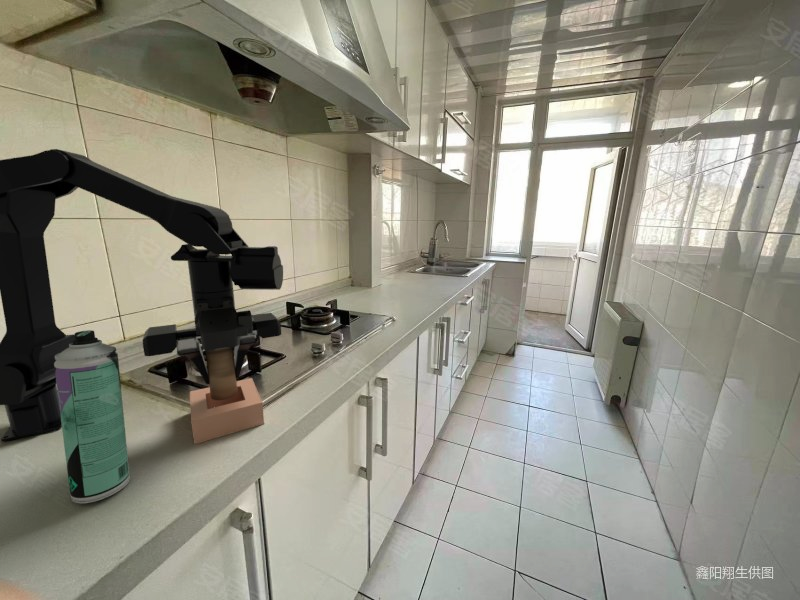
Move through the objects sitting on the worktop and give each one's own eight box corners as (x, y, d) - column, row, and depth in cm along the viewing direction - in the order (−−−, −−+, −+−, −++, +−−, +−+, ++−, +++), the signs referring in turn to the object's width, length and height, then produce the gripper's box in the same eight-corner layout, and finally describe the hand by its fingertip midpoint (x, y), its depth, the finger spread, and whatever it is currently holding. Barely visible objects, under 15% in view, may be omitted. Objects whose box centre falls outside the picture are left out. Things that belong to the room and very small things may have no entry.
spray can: (127, 467, 45) (113, 325, 42) (132, 488, 41) (117, 332, 38) (71, 486, 41) (52, 331, 38) (70, 511, 37) (48, 340, 35)
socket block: (192, 411, 58) (189, 391, 57) (253, 396, 63) (251, 377, 62) (194, 444, 50) (191, 420, 49) (264, 423, 55) (262, 402, 54)
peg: (209, 391, 56) (204, 348, 54) (235, 386, 58) (231, 343, 56) (211, 402, 52) (206, 356, 51) (238, 396, 55) (234, 351, 53)
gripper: (129, 308, 39) (149, 422, 43) (287, 293, 49) (292, 387, 53) (139, 290, 48) (155, 386, 52) (271, 281, 58) (276, 362, 62)
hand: (222, 380), depth 55 cm, fingers closed on peg, 4 cm apart
